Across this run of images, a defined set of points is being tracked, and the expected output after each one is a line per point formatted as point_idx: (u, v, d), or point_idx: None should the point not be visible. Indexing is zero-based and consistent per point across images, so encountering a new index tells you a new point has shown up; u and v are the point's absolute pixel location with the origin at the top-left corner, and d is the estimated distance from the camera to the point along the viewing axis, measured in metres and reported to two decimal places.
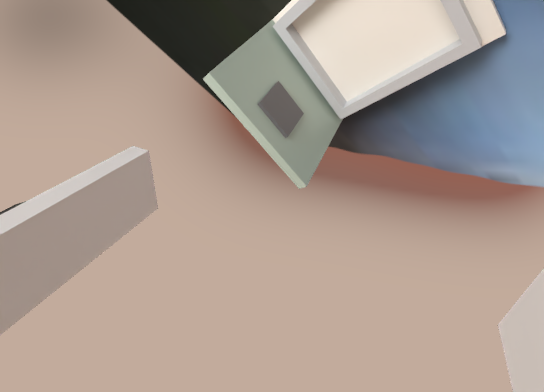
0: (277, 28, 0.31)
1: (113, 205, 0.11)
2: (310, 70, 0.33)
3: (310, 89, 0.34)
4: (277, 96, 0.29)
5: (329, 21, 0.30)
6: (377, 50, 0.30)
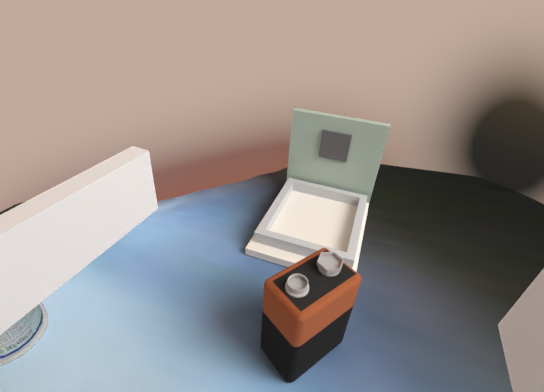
0: (364, 196, 0.46)
1: (113, 205, 0.11)
2: (328, 188, 0.47)
3: (320, 180, 0.48)
4: (341, 151, 0.44)
5: (338, 214, 0.44)
6: (300, 215, 0.43)
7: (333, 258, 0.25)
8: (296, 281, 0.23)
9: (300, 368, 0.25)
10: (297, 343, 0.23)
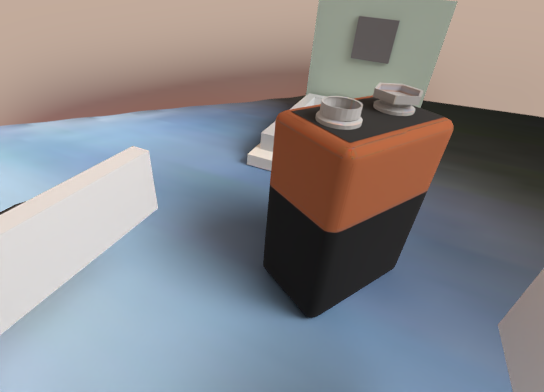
0: None
1: (113, 205, 0.11)
2: None
3: (350, 95, 0.37)
4: (383, 46, 0.32)
5: None
6: None
7: (402, 93, 0.14)
8: None
9: (331, 290, 0.14)
10: (335, 223, 0.12)
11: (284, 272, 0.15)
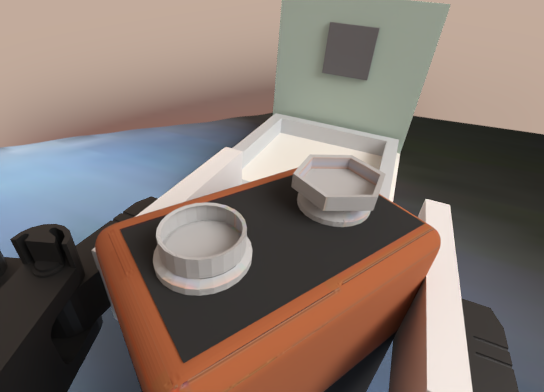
0: (393, 139, 0.28)
1: None
2: (336, 128, 0.30)
3: (324, 116, 0.30)
4: (361, 59, 0.26)
5: None
6: (289, 163, 0.26)
7: (350, 174, 0.08)
8: (205, 232, 0.06)
9: None
10: None
11: None
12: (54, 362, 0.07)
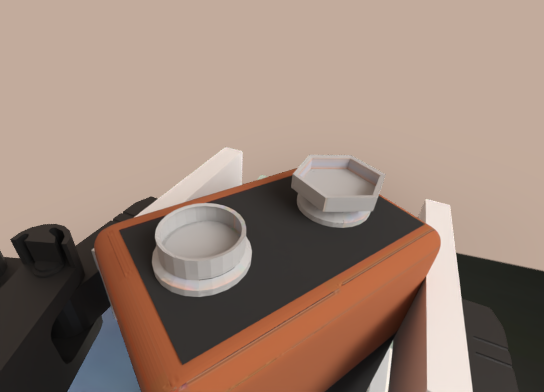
0: None
1: None
2: None
3: None
4: None
5: None
6: None
7: (350, 175, 0.08)
8: (205, 232, 0.06)
9: None
10: None
11: None
12: (54, 362, 0.07)
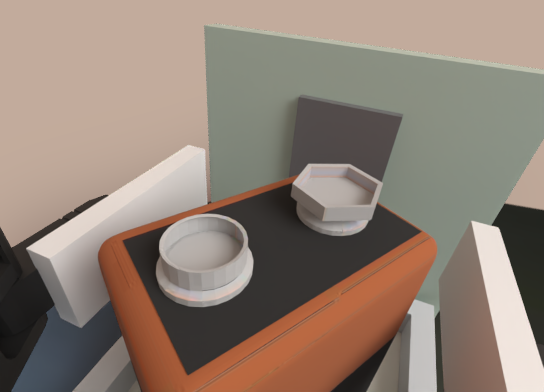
0: (423, 307, 0.15)
1: (175, 201, 0.11)
2: None
3: None
4: (362, 170, 0.13)
5: None
6: None
7: (348, 183, 0.08)
8: (207, 243, 0.06)
9: None
10: None
11: None
12: None
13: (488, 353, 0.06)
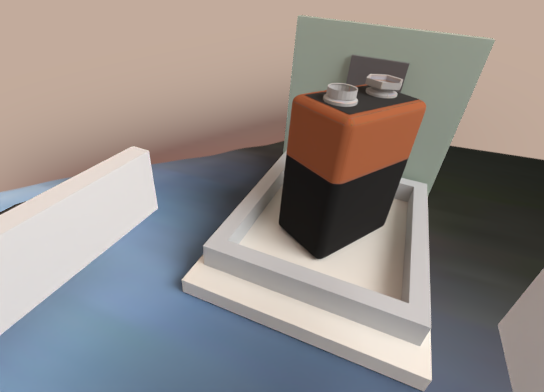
0: (420, 184, 0.25)
1: (113, 205, 0.11)
2: None
3: None
4: None
5: None
6: None
7: (387, 82, 0.18)
8: None
9: (335, 236, 0.18)
10: (338, 176, 0.16)
11: (297, 225, 0.20)
12: None
13: None
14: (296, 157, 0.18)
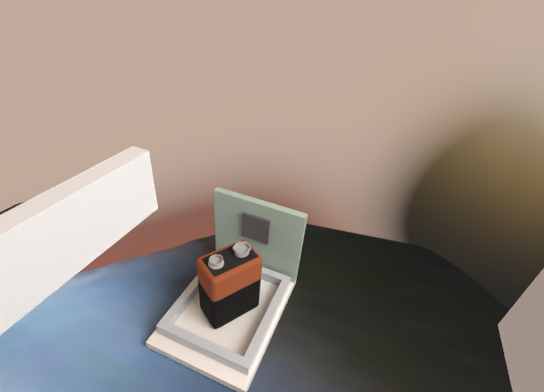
0: (287, 277, 0.45)
1: (113, 205, 0.11)
2: None
3: None
4: (262, 234, 0.43)
5: None
6: None
7: (245, 245, 0.37)
8: (216, 259, 0.36)
9: (221, 319, 0.38)
10: (214, 299, 0.35)
11: (205, 311, 0.39)
12: None
13: None
14: (200, 283, 0.37)
